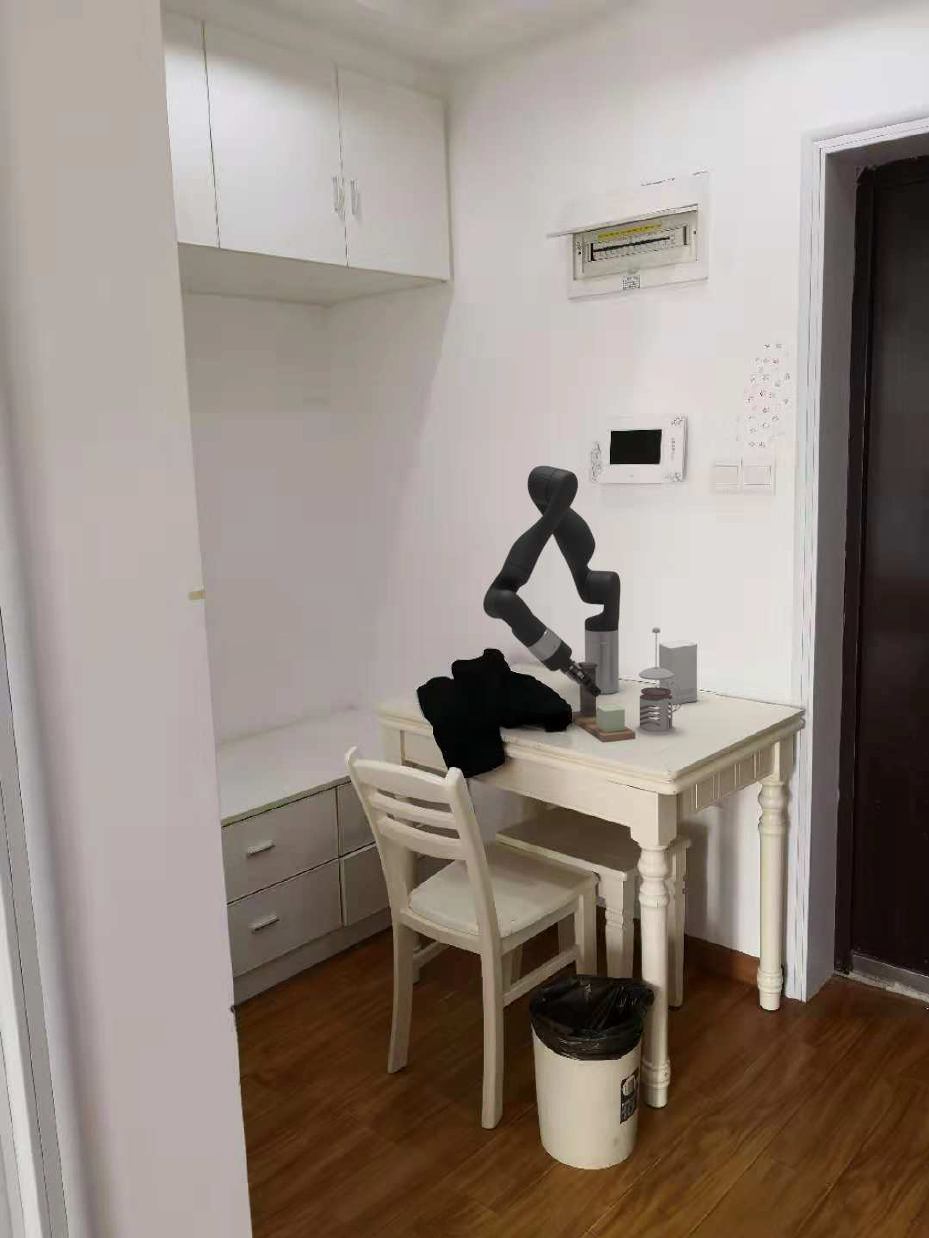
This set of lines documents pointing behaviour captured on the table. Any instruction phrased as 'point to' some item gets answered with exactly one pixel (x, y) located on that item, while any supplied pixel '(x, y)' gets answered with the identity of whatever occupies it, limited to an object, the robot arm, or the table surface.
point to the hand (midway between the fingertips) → (595, 692)
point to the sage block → (610, 718)
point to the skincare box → (679, 669)
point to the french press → (656, 702)
